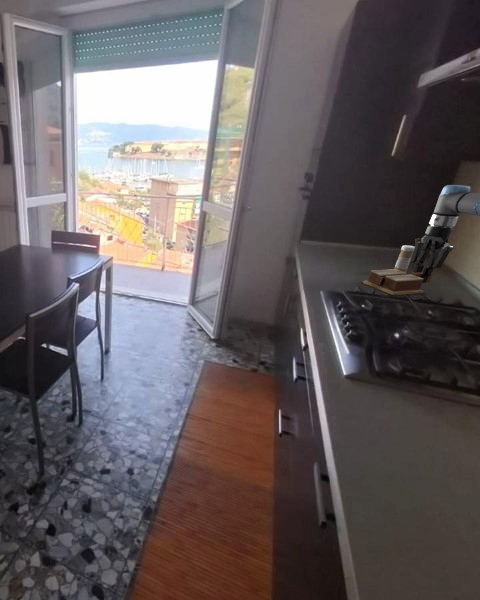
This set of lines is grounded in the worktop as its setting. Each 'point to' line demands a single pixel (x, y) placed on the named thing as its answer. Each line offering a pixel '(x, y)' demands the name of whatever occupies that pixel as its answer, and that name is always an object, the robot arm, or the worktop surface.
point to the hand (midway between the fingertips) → (418, 281)
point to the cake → (395, 282)
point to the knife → (410, 274)
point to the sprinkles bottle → (404, 258)
